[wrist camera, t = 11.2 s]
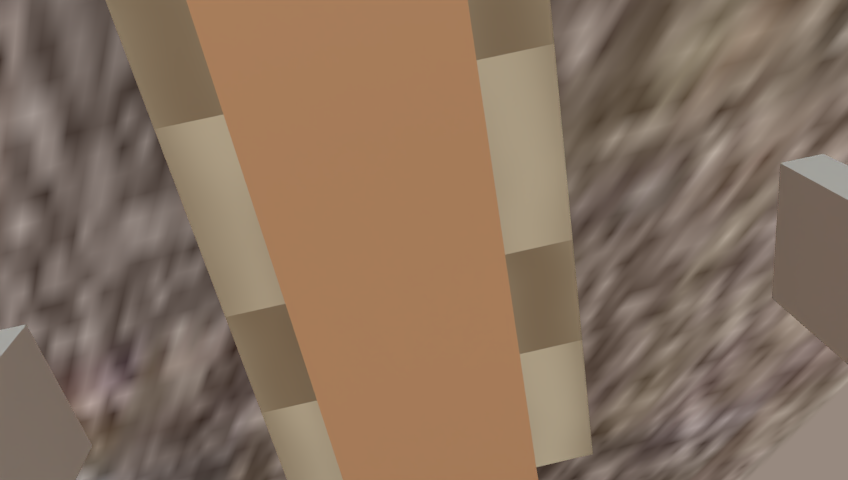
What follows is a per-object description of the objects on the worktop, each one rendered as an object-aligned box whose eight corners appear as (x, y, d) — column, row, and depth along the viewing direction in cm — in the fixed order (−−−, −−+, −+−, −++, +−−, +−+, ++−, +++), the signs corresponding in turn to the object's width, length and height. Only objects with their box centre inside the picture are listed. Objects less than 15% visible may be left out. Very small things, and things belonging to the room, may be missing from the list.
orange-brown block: (256, -45, 18) (179, -21, 9) (397, -74, 18) (456, -78, 9) (354, 315, 24) (366, 553, 15) (463, 290, 24) (543, 511, 15)
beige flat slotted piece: (473, -320, 16) (513, -390, 13) (556, 381, 26) (592, 453, 22) (71, -241, 16) (-5, -291, 12) (307, 438, 26) (302, 521, 22)
